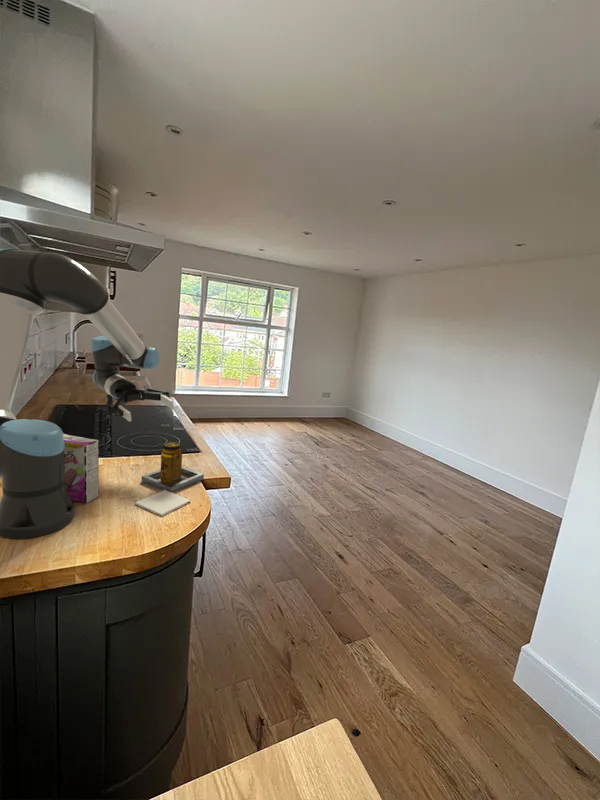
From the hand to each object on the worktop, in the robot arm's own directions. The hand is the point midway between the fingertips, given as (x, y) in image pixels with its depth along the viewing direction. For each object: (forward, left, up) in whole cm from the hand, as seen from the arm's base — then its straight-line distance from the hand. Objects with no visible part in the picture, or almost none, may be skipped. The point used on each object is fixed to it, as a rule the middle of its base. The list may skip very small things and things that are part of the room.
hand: (152, 410), depth 114 cm
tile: (-10, -17, -21) cm, 29 cm away
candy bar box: (-22, +3, -21) cm, 31 cm away
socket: (+2, -8, -21) cm, 23 cm away
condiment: (+2, -8, -21) cm, 23 cm away
